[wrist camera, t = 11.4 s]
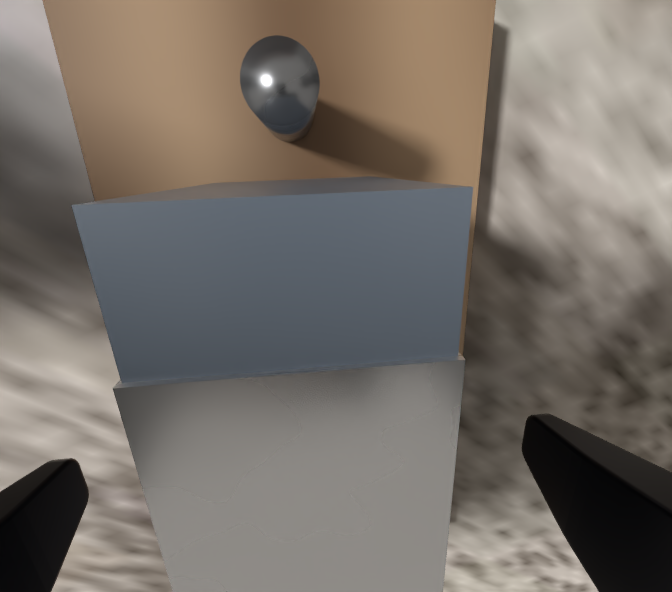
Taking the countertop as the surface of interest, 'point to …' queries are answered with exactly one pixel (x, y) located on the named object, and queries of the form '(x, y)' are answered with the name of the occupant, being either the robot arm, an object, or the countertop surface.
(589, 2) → the countertop surface
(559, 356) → the countertop surface
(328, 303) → the grey rectangular block
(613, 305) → the countertop surface
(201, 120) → the wooden pegged board
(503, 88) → the countertop surface
